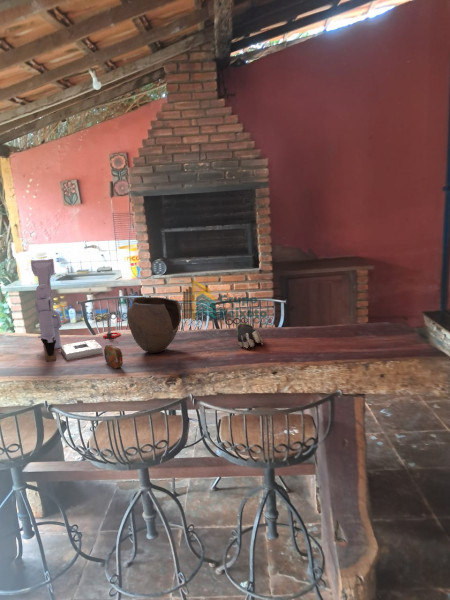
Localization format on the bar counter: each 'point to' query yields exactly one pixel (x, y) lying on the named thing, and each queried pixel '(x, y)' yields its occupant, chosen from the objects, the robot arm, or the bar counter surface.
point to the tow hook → (109, 334)
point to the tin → (113, 356)
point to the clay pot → (154, 322)
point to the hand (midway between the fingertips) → (50, 354)
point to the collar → (81, 349)
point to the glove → (247, 335)
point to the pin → (49, 358)
